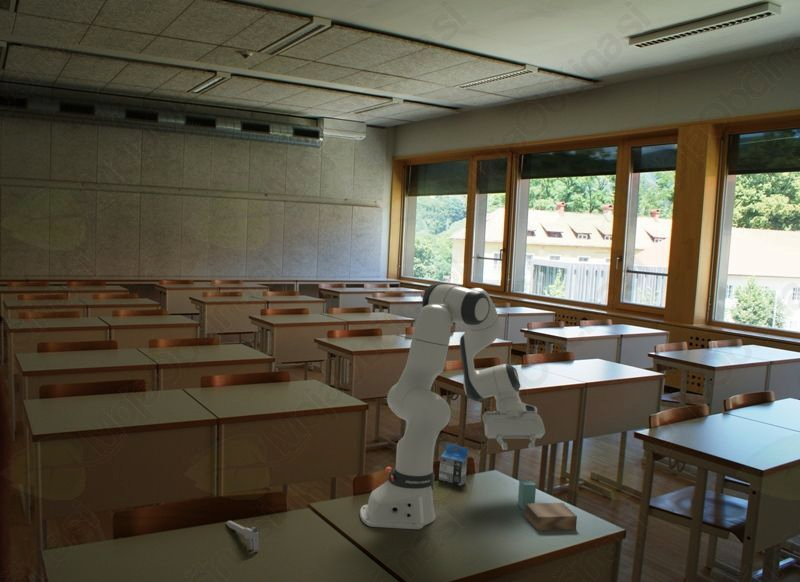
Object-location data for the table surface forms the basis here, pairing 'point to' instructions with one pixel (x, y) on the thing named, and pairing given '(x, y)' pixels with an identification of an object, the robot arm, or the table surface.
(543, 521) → the walnut block
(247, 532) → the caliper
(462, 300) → the robot arm
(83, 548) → the table surface
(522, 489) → the teal column
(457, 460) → the label tape box
